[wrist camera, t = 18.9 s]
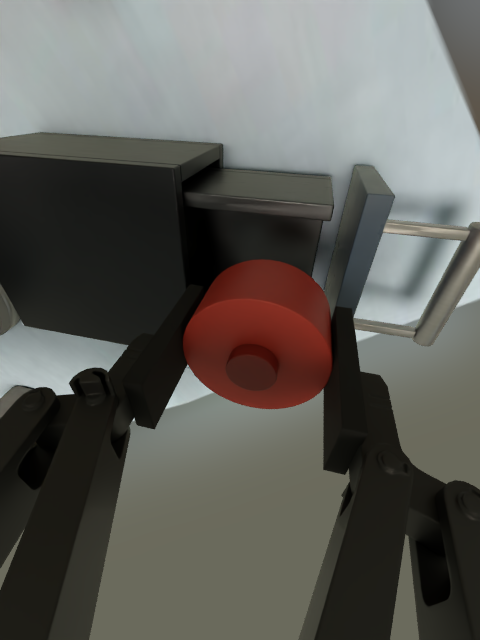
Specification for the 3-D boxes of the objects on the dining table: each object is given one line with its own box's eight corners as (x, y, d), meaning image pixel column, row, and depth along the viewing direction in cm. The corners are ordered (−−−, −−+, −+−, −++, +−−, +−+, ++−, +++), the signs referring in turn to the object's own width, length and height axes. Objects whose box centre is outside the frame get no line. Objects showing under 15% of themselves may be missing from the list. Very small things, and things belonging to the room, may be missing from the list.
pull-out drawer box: (483, 173, 17) (554, 209, 12) (408, 322, 24) (432, 385, 19) (172, 152, 20) (120, 172, 15) (187, 290, 27) (155, 336, 22)
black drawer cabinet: (223, 143, 20) (173, 168, 13) (224, 295, 28) (193, 357, 21) (40, 132, 22) (-79, 148, 16) (89, 275, 30) (24, 326, 23)
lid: (216, 356, 18) (193, 412, 15) (194, 259, 14) (157, 306, 11) (326, 365, 16) (327, 430, 13) (336, 258, 12) (341, 313, 9)
